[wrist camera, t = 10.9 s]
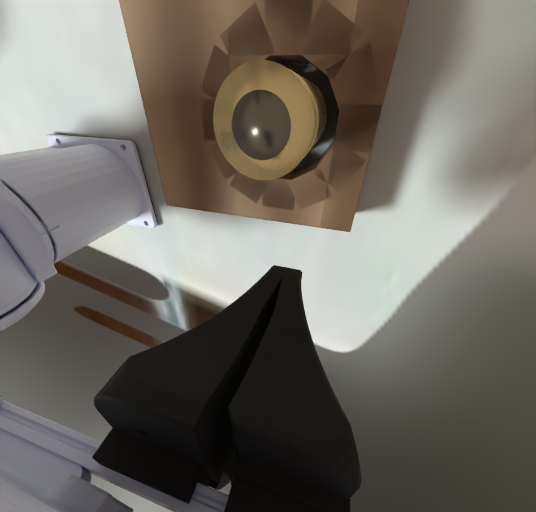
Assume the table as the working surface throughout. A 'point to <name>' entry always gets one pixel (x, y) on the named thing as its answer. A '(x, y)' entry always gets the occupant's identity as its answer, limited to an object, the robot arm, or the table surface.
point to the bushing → (267, 119)
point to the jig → (250, 49)
